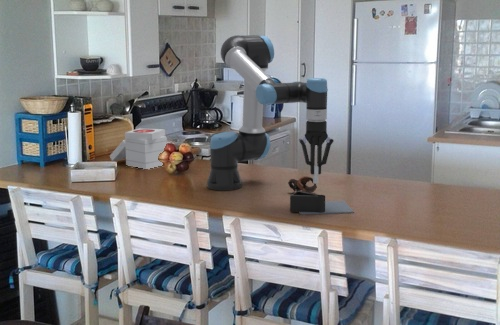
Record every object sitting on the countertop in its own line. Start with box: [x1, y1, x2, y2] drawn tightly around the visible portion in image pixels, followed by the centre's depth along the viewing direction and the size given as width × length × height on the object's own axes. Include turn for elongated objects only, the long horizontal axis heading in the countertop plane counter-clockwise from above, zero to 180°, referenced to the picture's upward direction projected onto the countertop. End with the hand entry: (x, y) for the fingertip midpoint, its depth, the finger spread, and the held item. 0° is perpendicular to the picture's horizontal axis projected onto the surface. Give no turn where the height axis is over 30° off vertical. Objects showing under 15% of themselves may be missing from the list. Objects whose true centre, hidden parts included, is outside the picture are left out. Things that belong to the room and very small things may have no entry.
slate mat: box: [298, 200, 355, 215], centre depth 237 cm, size 20×16×1 cm
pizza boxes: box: [109, 128, 168, 170], centre depth 321 cm, size 19×30×18 cm, turn 51°
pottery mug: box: [287, 176, 318, 193], centre depth 258 cm, size 12×10×8 cm
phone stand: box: [289, 190, 326, 213], centre depth 231 cm, size 9×6×12 cm
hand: (315, 182), depth 235 cm, fingers closed
